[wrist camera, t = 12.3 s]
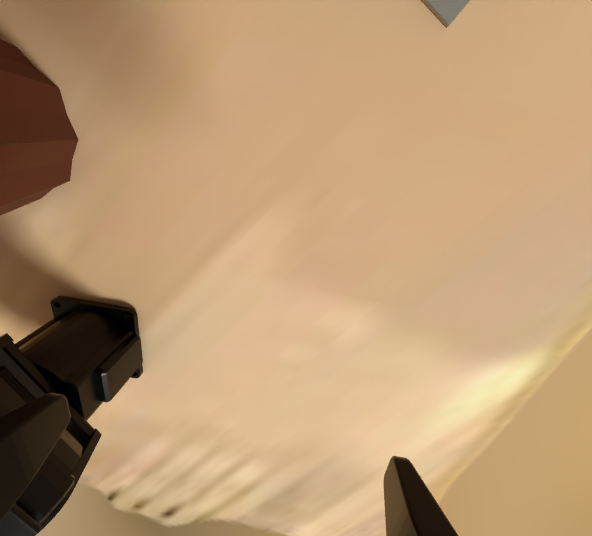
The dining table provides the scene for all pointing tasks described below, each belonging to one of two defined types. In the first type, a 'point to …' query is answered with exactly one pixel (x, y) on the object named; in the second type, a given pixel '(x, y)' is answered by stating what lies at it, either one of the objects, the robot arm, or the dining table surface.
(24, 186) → the muffin
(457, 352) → the dining table surface
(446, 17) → the foundation tile
